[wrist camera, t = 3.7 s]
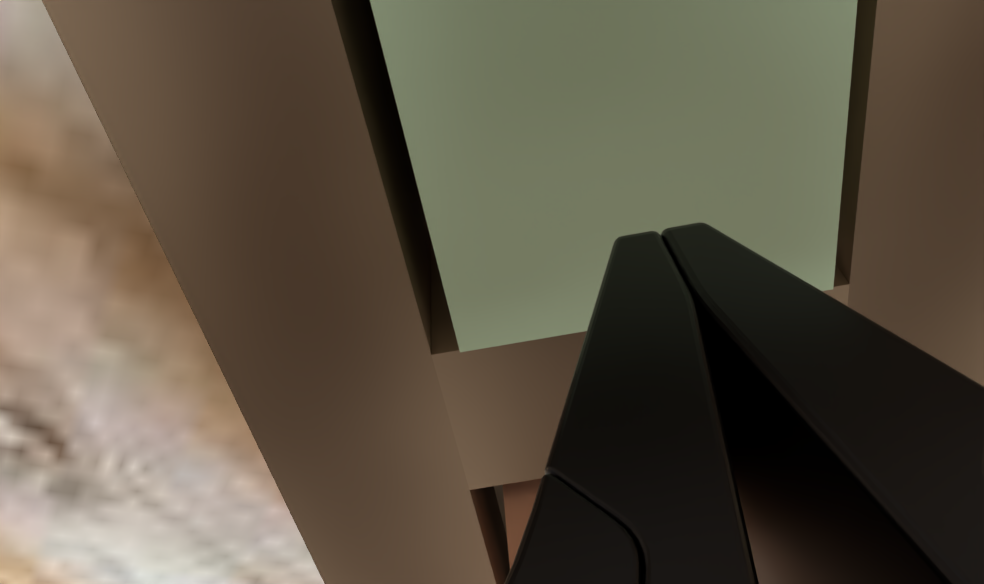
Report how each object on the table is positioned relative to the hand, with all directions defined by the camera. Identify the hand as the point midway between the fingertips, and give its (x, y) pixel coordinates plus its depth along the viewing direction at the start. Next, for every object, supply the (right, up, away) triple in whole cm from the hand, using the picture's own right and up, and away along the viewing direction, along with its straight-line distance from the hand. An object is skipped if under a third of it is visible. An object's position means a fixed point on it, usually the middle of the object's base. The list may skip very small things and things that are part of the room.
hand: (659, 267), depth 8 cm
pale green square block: (0, +3, +4) cm, 5 cm away
